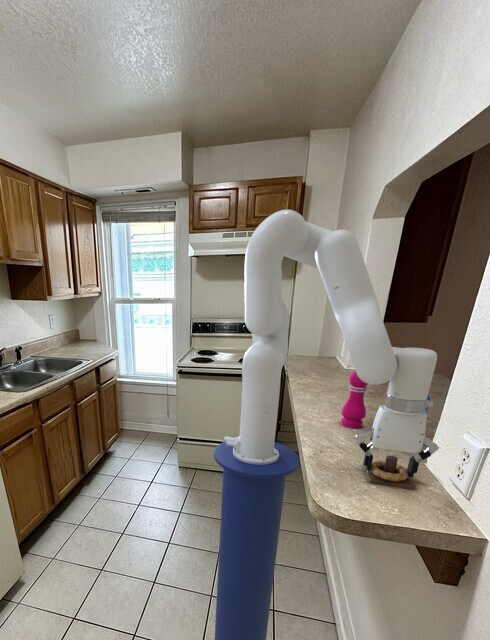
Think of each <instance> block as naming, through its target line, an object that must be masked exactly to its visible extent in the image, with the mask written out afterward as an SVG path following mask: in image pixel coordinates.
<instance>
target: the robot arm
mask: <svg viewBox="0 0 490 640" xmlns="http://www.w3.org/2000/svg"><path fill="white" fill-rule="evenodd" d="M284 257H285V258H288V259H290V260H293V261H296V262H298V263H301V264H303V265H306V266H309V267H311V268H313V269H317V270H318V272H319V275H320V277H321V280H322V283H323V285H324V288H325V291H326V294H327V297H328V300H329V303H330V306H331V309H332V312H333V314H334V317H335V320H336V322H337V324H338V327H339V328H340V331H341V333H342V335H343V339H344V341H345V344H346V347H347V349H348V352H349V356H350V358H351V361H352V364H353V367H354V370H355V371H356V373H357V375H358V377H359V378H360V379H361V380H362V381H363V382H365V383H367V384H368V385H372V386H379V385H383V384H386V383H387V382H389V383H388V387H387V391H386V392H387V393H386V397H385V401H384V404H380V406H379V407H378V410H377V411H376V415H375V417H374V420H373V423H372V426H371V429H368V430H366V431H362V432H360V433H357V434H355V436H354V438H355V440H356V442H357V444H358V446H359V448H360V450H362V451H363V452H364V457H363V464H362V465H363V466H364V467H365V466H366V469H365V471H366V470H367V471H370V470H371V465H372V463H373V462H374V461H373V460H374V455H373V454H375V453H376V452H377V451H378V450H383V451H390V452H397V453H405V454H411V455H412V456H410V457H409V460H408V463H407V467H406V469H407V471H408V473H409V477H410V478H414V475H415V474H417V473H418V469H419V466H420V464H421V463H422V462H423V461H425V460H427V459H429V458H430V457H432V455H433V454H435V453H436V452H437V451H439V449H440V446H439V445H438V444H437V443H436V442H434V441H432V439H430V438H428V437H427V436H426V431H427V430H426V429H427V417H428V416H427V415H428V414H427V415H426V411H425V408H426V407H428V408H433V407H434V400H430V401H429V400H428V399H427V396H428V395H429V392H430V388H431V384H432V381H433V376H434V373H435V369H436V365H437V361H438V353H437V352H436V351H434V350H432V349H429V348H423V347H396V346H392V343H391V340H390V337H389V334H388V332H387V329H386V326H385V324H384V320H383V316H382V314H381V310H380V305H379V302H378V298H377V295H376V292H375V290H374V287H373V283H372V280H371V278H370V275H369V272H368V268H367V266H366V263H365V259H364V257H363V254H362V251H361V247H360V245H359V242H358V239H357V238H356V236H355V235H354V234H353V233H352V232H351V231H349V230H347V229H336V230H330V229H328V228H325V227H322V226H319V225H316V224H314V223H311V222H308V221H306V220H305V218H304V217H303V215H301V214H300V213H299V212H298V211H296V210H293V209H282V210H278V211H276V212H274V213H272V214H271V215H269V216H267V217H265V219H264V220H263V221H261V223H259V224H258V226H256V228H255V230H254V231H253V233H252V235H251V236H250V238H249V241H248V243H247V246H246V251H245V257H244V323H245V327H246V328H247V330H248V331H249V332H250V333H251V334H252V345H251V346H250V347H249V348H248V349H247V351H245V353H244V356H243V358H242V364H241V377H242V379H241V380H242V388H241V389H242V391H241V406H240V407H241V408H240V421H239V423H240V424H239V436H235V437H231V436H224V437H223V442H224V443H226V446H232V447H234V448H233V455H234V456H235V457H236V458H237V459H238V460H240V461H242V462H245V463H249V464H254V465H267V464H271V463H274V462H276V461H277V460H278V458H279V452H278V451H277V450H276V449H275V448H274V442H276V431H277V422H278V413H279V402H280V393H281V377H282V376H281V375H282V369H283V367H284V365H285V363H286V361H287V359H288V355H289V354H288V353H289V310H288V306H287V304H286V302H285V301H284V300H283V297H282V282H283V271H282V265H283V260H284ZM368 438H369V441H370V443H369V444H368V445H367V444H366V443H365V441H364V440H366V439H368ZM424 445H425V446H427V448H425V449H424V450H422V449H423V446H424Z"/></svg>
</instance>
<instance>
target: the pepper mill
mask: <svg viewBox="0 0 490 640" xmlns="http://www.w3.org/2000/svg"><path fill="white" fill-rule="evenodd" d="M348 382H349V383H350V385H349V388H348V390H349V395H348V398H347V400H346V402H345V404H344V405H343V406H342V408H341V412H340V414H341V416H342V418H341V420H340V424H341V426H343V427H345V428H349V429H360V428H362V427H363V419H365V417H366V415H367V410H366V406H365V402H364V395H365V393H366V392H367V389H368V385H369V384H367V383H365V382H363V381H362V380H361V379H360V378H359V377H358V375H357V373H356V370H355V371H353V372H352V373H351V374H350V375H349V378H348Z"/></svg>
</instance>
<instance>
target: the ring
mask: <svg viewBox="0 0 490 640" xmlns="http://www.w3.org/2000/svg"><path fill="white" fill-rule="evenodd" d="M384 464H385V460H375V461H372V465H371V470H370V472H371V473H372V474H374V475H375V476H377V477H379V478H382V479H384V480H389V481H395V482H396V481H404V480H406V479H407V478H408V477H409V473H408V471H407V467H404V466H402V465H401V464H398V463H397V465H396V469H395V471H396V472H398V474H393V473H387V472H385V471H382V470H380V469H378V468H384Z"/></svg>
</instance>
